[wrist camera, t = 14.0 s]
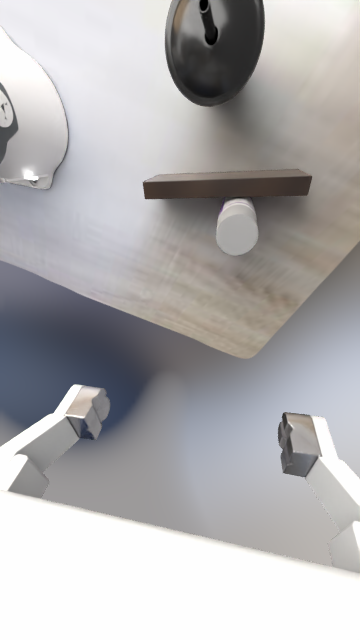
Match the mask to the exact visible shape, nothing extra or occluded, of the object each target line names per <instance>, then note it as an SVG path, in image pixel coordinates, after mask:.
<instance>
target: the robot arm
mask: <svg viewBox="0 0 360 640" xmlns="http://www.w3.org/2000/svg"><path fill="white" fill-rule="evenodd" d="M67 143H68V127H67V120H66V115H65V111H64V108H63V105H62V102H61V99H60V97H59V95H58V92H57V90H56V88H55V87H54V85H53V83H52V81H51V80H50V78H49V77H48V75H47V74H46V73H45V71H44V70H43V69H42V68H41V66H40V65H39V64H38V63H37V62H36V61H35V60H34V59H33V58H32V57H30V56H29V55H28V54H26V53H25V52H24V51H22V50H21V49H20V48H18V47H17V46H16V45H15V44H14V43H13V42H12V41H11V39H10V38H9V37H8V35H7V34H6V33H5V31H4V30H3V29H2V27H1V26H0V183H5V182H8V183H13V184H18V185H23V186H28V187H33V188H38V189H49V188H50V186H51V184H52V179H53V173H54V171H55V170H56V168H57V167H58V166H59V164H60V163H61V162H62V160H63V158H64V156H65V153H66V149H67ZM35 180H37V182H36V181H35ZM105 395H106V390H105V389H103V388H96V387H88V386H83V385H73V386H72V387H71V388H70V390H69V391H68V393H67V394H66V396H65V397H64V399H63V400H62V402H61V403H60V405H59V406H58V408H57V409H56V411H55V412H54V414H49V415H48V416H46V417H45V418H43V419H42V420H40V421H39V422H37V423H36V424H34V425H33V426H31V427H30V428H29V429H27V430H25V431H24V432H22V433H21V434H19V435H18V436H16V437H15V438H13V439H12V440H11V441H9V442H7V443H6V444H4V445H3V446H1V447H0V640H360V479H359V478H358V477H357V475H356V474H355V473H354V472H353V471H352V470H351V469H350V468H349V467H348V465H346V463H345V462H344V461H342V460H339V459H338V456H337V453H336V449H335V446H334V444H333V440H332V438H331V434H330V431H329V428H328V425H327V422H326V420H325V418H324V417H319V416H310V415H305V414H296V413H287V412H285V413H283V416H282V420H283V421H282V422H280V424H279V427H278V441H279V446H280V447H281V448H282V449H283V451H282V453H281V463H282V469H283V473H286V474H291V475H296V476H301V477H306V478H305V479H306V481H307V482H308V484H309V485H310V487H311V488H312V490H313V491H314V493H315V495H316V496H317V497H318V499H319V501H320V502H321V504H322V505H323V507H324V508H325V510H326V511H327V513H328V514H329V516H330V517H331V519H332V521H333V522H334V524H335V525H336V527H337V528H338V530H339V531H340V533H339V534H337V535H336V536H335V537H334V538H333V539H331V540H330V542H329V543H328V546H329V551H330V555H331V560H332V564H333V567H332V566H327V565H323V564H319V563H314V562H310V561H306V560H301V559H297V558H293V557H288V556H284V555H280V554H276V553H271V552H267V551H263V550H258V549H254V548H250V547H246V546H241V545H237V544H233V543H228V542H224V541H220V540H216V539H211V538H207V537H203V536H199V535H194V534H190V533H186V532H181V531H176V530H172V529H169V528H164V527H159V526H156V525H151V524H147V523H143V522H139V521H134V520H130V519H126V518H121V517H117V516H112V515H108V514H104V513H100V512H96V511H91V510H87V509H82V508H78V507H74V506H70V505H66V504H61V503H57V502H53V501H48V500H44V499H41V497H42V496H43V494H44V492H45V490H46V488H47V486H48V484H49V479H48V478H47V477H46V476H45V475H44V474H43V472H44V471H45V470H46V469H47V468H48V467H49V466H50V465H51V464H52V463H53V462H55V461H56V460H57V459H58V458H59V457H60V456H61V455H62V454H63V453H64V452H66V450H68V449H69V448H70V447H71V446H72V445H73V444H74V443H75V442H76V441H78V440H79V438H84V439H91V440H96V439H97V437H98V434H99V432H100V430H101V428H102V423H101V422H102V421H103V420H104V419H105V418H106V417H107V415H108V413H109V409H110V401H109V399H108V398H107V397H106V396H105Z"/></svg>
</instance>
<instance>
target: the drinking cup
mask: <svg viewBox="0 0 360 640" xmlns="http://www.w3.org/2000/svg"><path fill="white" fill-rule="evenodd" d="M264 29H265V14H264V5H263V0H172V2H171V5H170V8H169V12H168V16H167V21H166V29H165V53H166V59H167V64H168V68H169V71H170V74H171V77H172V79H173V81H174V83H175V85H176V86H177V88H178V89H179V91H180V92H181V93H182V94H183V95H184V96H185V97H186V98H187V99H188V100H190V101H191V102H193V103H195V104H197V105H200V106H205V107H212V106H218V105H221V104H223V103H225V102H227V101H229V100H231V99H232V98H233V97H234V96H236V95H237V94H238V93H239V92H240V91H241V90H242V89H243V87H244V86H245V85H246V83H247V82H248V80H249V79H250V77H251V75H252V73H253V71H254V69H255V67H256V65H257V62H258V59H259V56H260V53H261V49H262V44H263V39H264Z"/></svg>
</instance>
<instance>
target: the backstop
mask: <svg viewBox="0 0 360 640" xmlns="http://www.w3.org/2000/svg"><path fill="white" fill-rule="evenodd" d="M311 179H312V176H311V175H309V174H307V173H305V172H303V171H301V170H299V169H285V170H260V171H236V172H211V173H186V174H162V175H157V176H155V177H153V178H150V179H148V180H146V181H144V182H143V187H144V195H145V199H172V198H218V197H263V196H307V195H308V192H309V187H310V183H311Z"/></svg>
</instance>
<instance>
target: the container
mask: <svg viewBox="0 0 360 640" xmlns="http://www.w3.org/2000/svg"><path fill="white" fill-rule="evenodd" d="M257 240H258V225H257V218H256V213H255V210H254V206H253V202H252V198H251V197H224V199H223V201H222V205H221V209H220V213H219V217H218V223H217V230H216V242H217V245H218V246H219V248H220V249H221V250H222V251H223V252H224V253H226V254H228V255H231V256H240V255H243V254H246V253H247V252H249V251H250V250H251V249H252V248H253V247H254V246H255V244H256V242H257Z"/></svg>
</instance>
